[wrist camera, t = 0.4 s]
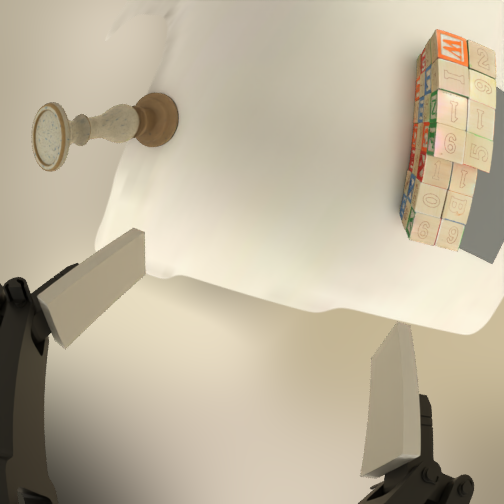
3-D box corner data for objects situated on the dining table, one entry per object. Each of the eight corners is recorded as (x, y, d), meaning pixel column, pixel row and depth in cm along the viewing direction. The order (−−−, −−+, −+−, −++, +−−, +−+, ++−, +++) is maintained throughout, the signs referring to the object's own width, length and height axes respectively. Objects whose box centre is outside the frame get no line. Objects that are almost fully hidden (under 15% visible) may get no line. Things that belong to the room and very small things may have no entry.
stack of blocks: (439, 224, 31) (464, 266, 21) (398, 214, 33) (410, 252, 23) (459, 71, 21) (496, 49, 11) (415, 57, 23) (436, 26, 13)
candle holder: (138, 91, 36) (30, 99, 19) (183, 95, 35) (69, 95, 18) (132, 142, 41) (29, 171, 24) (174, 150, 39) (66, 184, 22)
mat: (475, 74, 20) (477, 74, 20) (538, 121, 18) (540, 121, 18) (428, 233, 33) (429, 234, 32) (490, 262, 30) (492, 264, 30)
